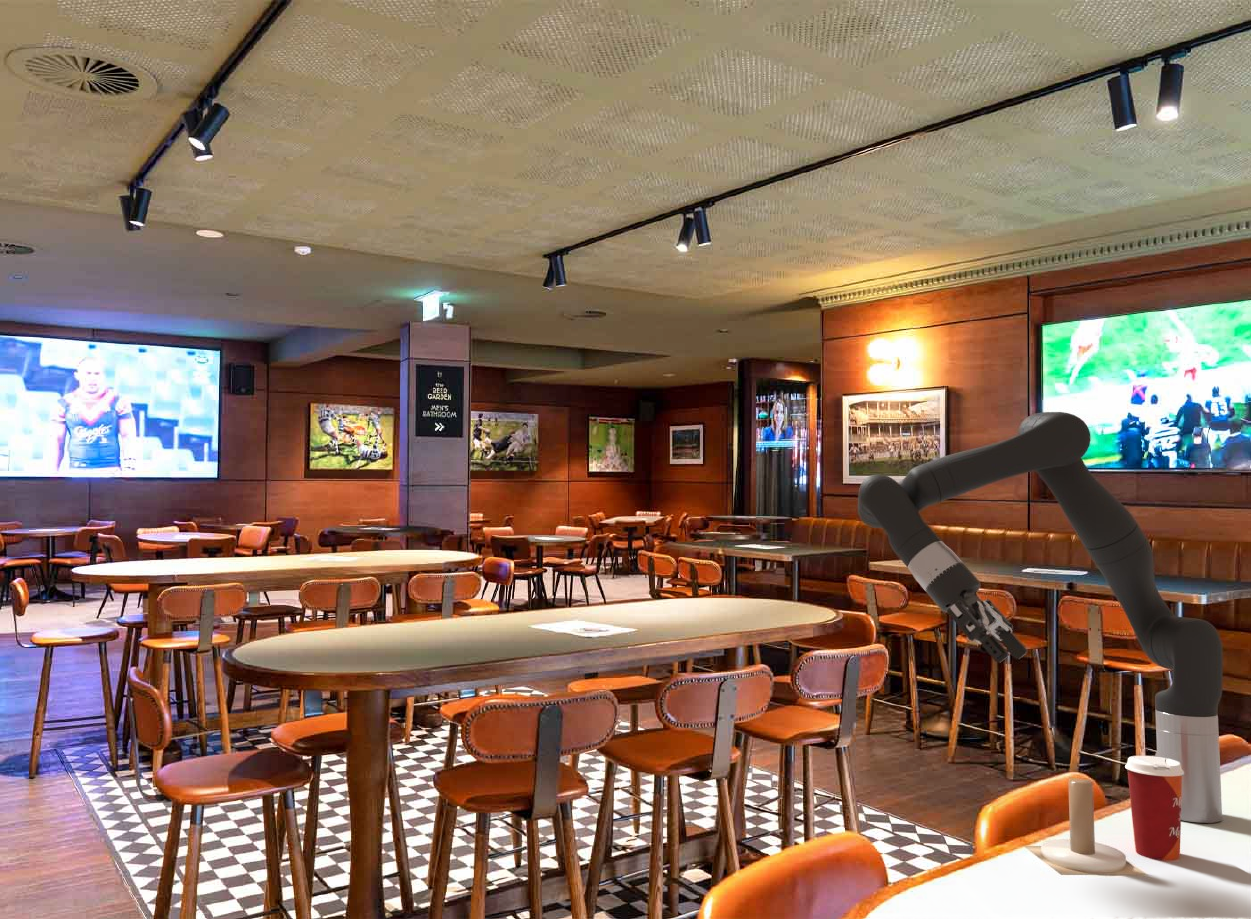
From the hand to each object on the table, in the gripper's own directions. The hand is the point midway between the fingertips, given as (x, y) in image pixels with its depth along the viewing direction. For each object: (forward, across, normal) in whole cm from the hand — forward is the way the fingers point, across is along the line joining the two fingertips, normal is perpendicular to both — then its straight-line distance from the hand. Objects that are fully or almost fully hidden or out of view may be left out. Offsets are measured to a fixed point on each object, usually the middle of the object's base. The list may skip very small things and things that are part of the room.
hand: (1013, 657), depth 145 cm
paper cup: (+32, +10, +6) cm, 35 cm away
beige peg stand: (+27, 0, +12) cm, 29 cm away
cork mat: (+27, 0, +12) cm, 30 cm away
